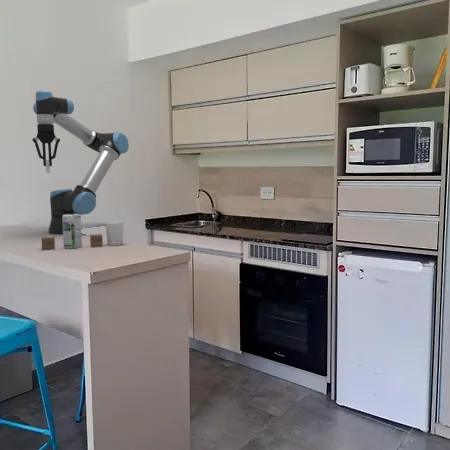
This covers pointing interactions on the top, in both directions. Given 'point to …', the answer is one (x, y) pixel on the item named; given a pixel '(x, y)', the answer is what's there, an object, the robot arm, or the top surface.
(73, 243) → the syrup box
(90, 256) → the top surface
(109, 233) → the white cup
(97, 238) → the walnut block one
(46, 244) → the walnut block seven
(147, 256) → the top surface
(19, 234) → the top surface
